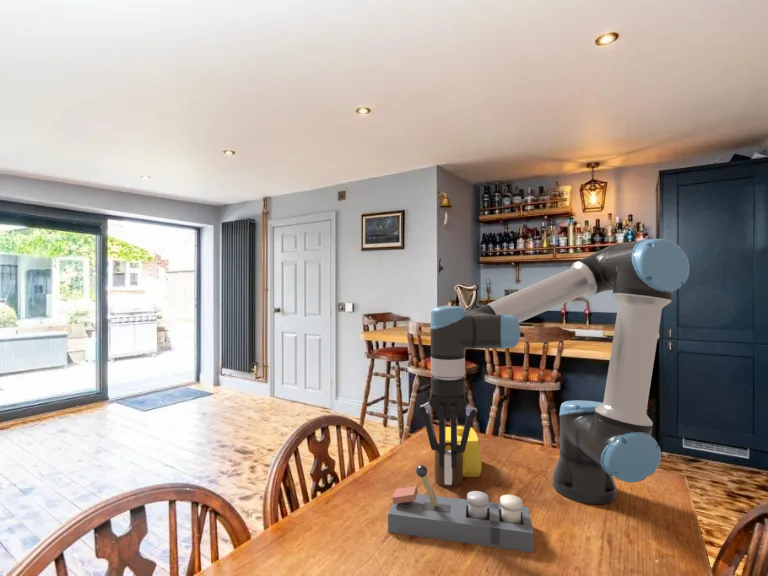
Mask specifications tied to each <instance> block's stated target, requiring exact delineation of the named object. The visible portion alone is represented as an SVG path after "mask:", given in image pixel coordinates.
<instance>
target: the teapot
mask: <svg viewBox="0 0 768 576" xmlns="http://www.w3.org/2000/svg"><path fill="white" fill-rule="evenodd" d="M464 427H465V426H462V425H461V426H460V425H457V444H458V445H460V443H461V439H462V435H463V431H464ZM446 442H448V443H451V426H446ZM445 450H451V446H450V445H447V446H446V448H445ZM481 473H482V452H481V447H480V440H479V437H478V434H477V433H476V431H475V430H474V428H473V427H471V428H470V432H469V436H468V440H467V444H466V448H465V452H464V453H463V478H479V477H480V476H481Z"/></svg>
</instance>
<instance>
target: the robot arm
mask: <svg viewBox="0 0 768 576" xmlns="http://www.w3.org/2000/svg"><path fill="white" fill-rule="evenodd" d="M689 275H690V262H689V258H688V256H687V254H686V253H685V251H683V250H682V247H681V246H680V245H678V244H677V243H675V242H674V241H672V240H670V239H665V238H644V239H641V240H635V241H629V242H628V241H627V242H624V243H623V242H621V243H620V242H619V243H615V244H612V245H609V246H607V247H604V248H603V249H600V250H598V251H597V252H594V253H592V254H590V255H588V256H585V257H584V258H582V259H579V260H577V261H575V262H573V263H572V265H571V267H570V268H568V269H566V270H563V271H562V272H559V273H556V274H554V275H552V276H550V277H547V278H545V279H543V280H541V281H538V282H536V283H534V284H531V285H529V286H527V287H524V288H522V289H519V290H517V291H515V292H513V293H510V294H508V295H506V296H502V297H500V298H499V299H496V300H493V301H492V302H489V303H487V304H485V305H482V306H479V307H478V308H475V309H467V310H465V308H464V307H462V306H457V305H456V306H453V305H452V306H451V305H447V306H444V305H443V306H442V305H441V306H435V307H433V308H432V309H431V312H430V324H429V329H430V374H431V375H432V376H431V377H430V397H429V398H428V401H427V402H425V403H422V404H420V406H419V409H418V410H419V411H418V412H419V413H420V414H421V417H422V418H423V421H424V425H425V429H426V432H427V436H428V441H429V446H430V448H431V450H432V451H435V450H436V451H438V452H439V465H440V467H442V468H444V475H445V484H447V485H451V484H452V468H453V469H456V467H457V454H458V453H464V452H465V448H466V444H467V440H468V436H469V432H470V428H472V423H473V421H474V419H475V418H476V416H477V415H478V408H477V407H474V406H472V405H471V404H468V399H467V398H466V378H465V375H466V358H465V357H466V353H465V352H466V350H473V349H476V350H479V349H481V350H483V349H484V350H485V349H489V350H490V349H493V350H494V349H500V350H504V349H512V348H515V347H516V346H518V344H519V343H520V339H521V326H520V323H522V322H524V321H526V320H529V319H531V318H533V317H535V316H537V315H540V314H543V313H544V312H547V311H550V310H551V309H555V308H556V307H559V306H561V305H563V304H565V303H568V302H570V301H573V300H575V299H577V298H580V297H582V296H584V295H585V296H587V297H591V296H595V295H597V294H599V293H603V292H607V291H612V296H613V297H614V299H615V300H616V301H617V303H618V305H617V312H616V319H615V325H614V332H613V338H612V344H611V351H610V355H609V356H610V357H609V364H608V369H607V376H606V382H605V383H606V384H605V391H604V397H603V402H600V401H594V400H581V399H580V400H578V399H577V400H566V401H564V402H562V403H561V405H560V407H559V413H558V414H559V415H558V416H559V457H558V460H557V462H556V465H555V468H554V470H553V473H552V481H551V483H552V487H553V488H554V490H555V491H556V492H558V493H559V494H560V495H562V496H564V497H566V498H568V499H570V500H572V501H575V502H580V503H583V504H590V505H604V504H605V505H606V504H610V503H613V502H615V500H616V499H617V485H616V482H615V479H617V480H619V481H622V482H625V483H639V482H642V481H644V480H646V479H647V478H648V477H650V476H652V475H653V474H654V473H655V472H656V471H657V469H658V468H659V465H660V464H661V460H662V459H661V458H662V451H661V448H660V446H659V445H658V441H656V439H655V438H654V437H653V436H652V431H653V424H654V423H653V420H652V419H651V418H650V417H649V416H648V414H647V411H648V410H647V409H648V402H649V396H650V389H651V383H652V376H653V372H654V371H653V369H654V364H655V363H654V362H655V357H656V350H657V344H658V338H659V330H660V324H661V323H660V322H661V317H662V311H663V308H664V307H665V306H668V305H669V304H671V303H672V299H673V294H674V291H676V290H679V289H680V288H681V287H682V285H684V284H685V283H686V282H687V281H688V278H689ZM431 410H433V412H434V413H435V415H436V416H437V418H438V440H437V436H436V435H437V434H436V431H435V427H434V422H433V420H432V419H433V418H432V416H431ZM464 411H465V415H466V419H465V424H464V426H463V427H464V431H463V435H462V439H461V443H460V445H457V426H458V418H460V416H461V414H462V413H463V412H464ZM446 419H449V420H450V427H451V450H445V448H446V427H447V425H446ZM614 477H615V478H614Z"/></svg>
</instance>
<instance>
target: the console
mask: <svg viewBox="0 0 768 576" xmlns="http://www.w3.org/2000/svg"><path fill="white" fill-rule="evenodd" d="M435 497H436V499H437V501H438V503H437V506H434V507H433V506H432V504H431V501H430V499H429V496H428V494H424V493H417V496H416V500H415V501H411V502H404V503H397V504H394V503H393V502H391V506H390V508H389V511H388V512H387V533H393V534H398V535H406V536H414V537H420V538H427V539H434V540H441V541H449V542H453V543H461V544H463V543H464V544H468V545H476V546H477V545H478V546H483V547H488V548H489V547H491V548H498V549H505V550H509V551H518V552H525V553H532V554H534V547H535V546H534V545H535V544H534V540H535V538H534V537H535V536H534V535H535V533H534V527H533V523H532V519H531V515H530V509H529V507H528V506H522V510H521V524H513V523H505V522H502V520H501V513H502V507H501V506H500V502H492V501H491V502H490V501H489V504H488V505H487V520H482V519H474V518H469V517H468V502H467V498H466V499H465V498H457V497H450V496H449V497H448V496H442V495H441V496H439V495H435Z"/></svg>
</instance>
